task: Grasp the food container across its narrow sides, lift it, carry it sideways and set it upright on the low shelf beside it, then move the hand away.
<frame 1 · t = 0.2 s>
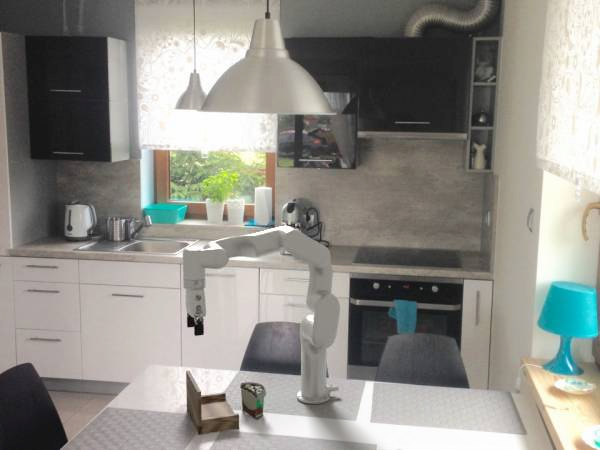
hand: (195, 331, 247), 31 cm above the table, tool pointing down, fingers open, 9 cm apart
low wooden shelf: (212, 419, 249), on the table
food container: (256, 413, 254), on the table
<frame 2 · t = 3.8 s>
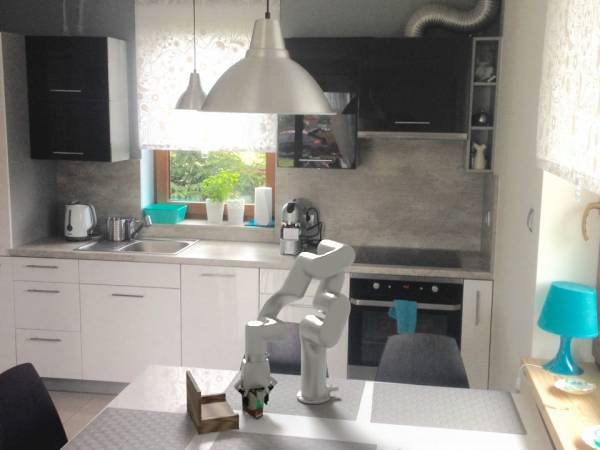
hand: (255, 404, 253), 3 cm above the table, tool pointing down, fingers closed on food container, 6 cm apart
food container: (256, 413, 254), on the table, touching gripper
when the fingers open (7 cm above the table, at t = 9.0 s): food container drops 1 cm, resting on low wooden shelf.
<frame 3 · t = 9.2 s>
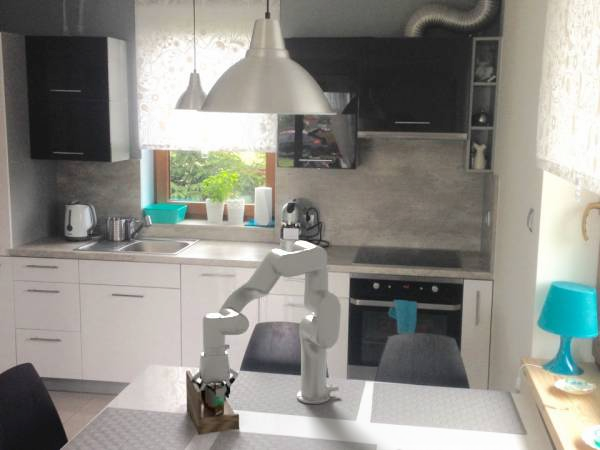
hand: (215, 397, 248), 8 cm above the table, tool pointing down, fingers open, 7 cm apart
food container: (217, 410, 249), point 3 cm above the table, touching low wooden shelf
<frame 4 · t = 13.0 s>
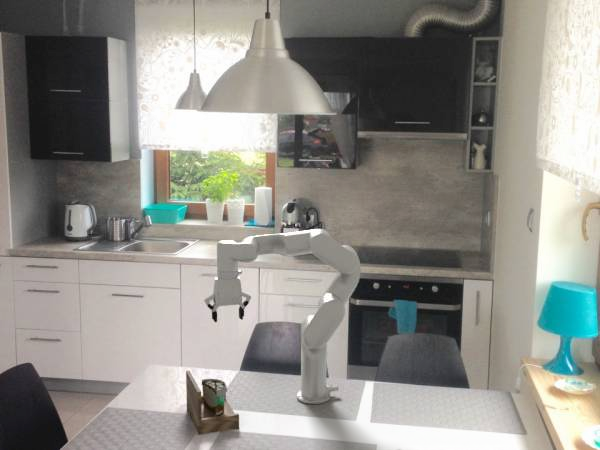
hand: (228, 319, 262), 30 cm above the table, tool pointing down, fingers open, 9 cm apart
nothing on the table moved.
at the end: food container inside the target area on the low wooden shelf (1.5 cm from its centre), point 2.8 cm above the low wooden shelf's base; food container tilted 0°; the gripper is holding nothing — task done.
